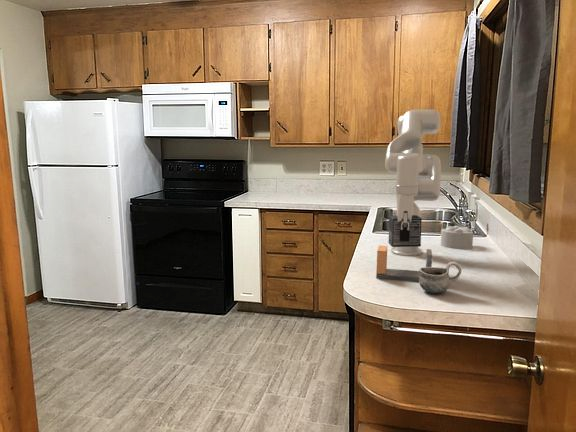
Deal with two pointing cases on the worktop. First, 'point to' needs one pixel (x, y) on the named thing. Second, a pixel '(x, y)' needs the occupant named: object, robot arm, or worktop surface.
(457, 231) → the beige piece
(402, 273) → the grey bent bar
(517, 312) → the worktop surface
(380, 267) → the vise slide jaw
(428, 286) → the mug
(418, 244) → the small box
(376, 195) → the worktop surface
